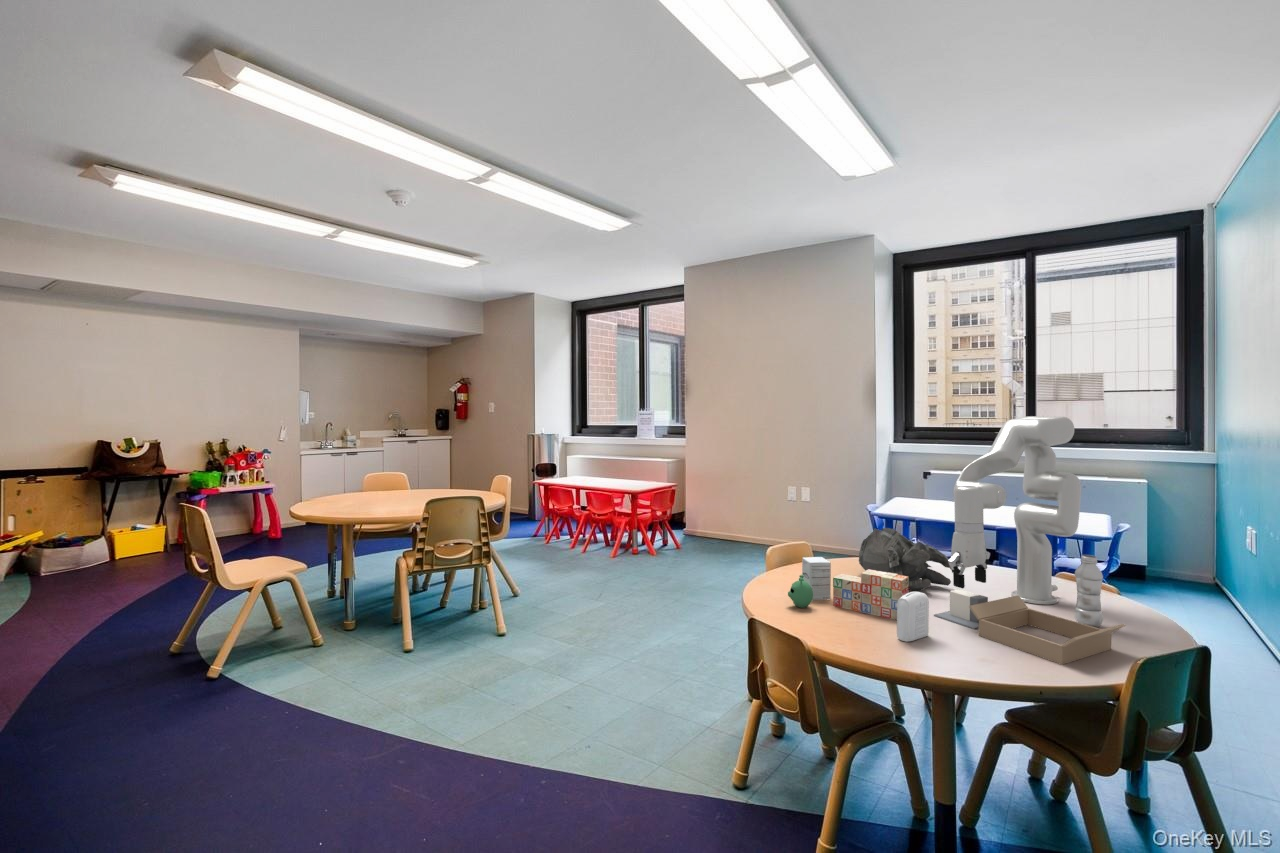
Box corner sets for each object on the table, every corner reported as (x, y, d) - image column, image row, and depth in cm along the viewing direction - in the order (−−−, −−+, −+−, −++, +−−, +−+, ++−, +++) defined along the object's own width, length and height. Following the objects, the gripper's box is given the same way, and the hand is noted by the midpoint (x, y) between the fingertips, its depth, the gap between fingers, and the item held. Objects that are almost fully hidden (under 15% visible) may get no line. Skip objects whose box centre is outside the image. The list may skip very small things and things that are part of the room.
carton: (1016, 620, 180) (1016, 594, 179) (1124, 653, 155) (1125, 623, 155) (968, 632, 170) (968, 605, 170) (1075, 669, 145) (1075, 637, 145)
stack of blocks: (832, 606, 194) (832, 567, 193) (840, 601, 198) (840, 564, 198) (901, 621, 179) (901, 579, 179) (908, 616, 184) (909, 575, 184)
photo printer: (916, 631, 171) (916, 587, 171) (931, 636, 167) (931, 591, 167) (894, 638, 165) (894, 593, 165) (908, 643, 162) (909, 597, 161)
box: (959, 612, 186) (959, 589, 186) (987, 620, 178) (987, 597, 178) (949, 614, 184) (949, 591, 184) (977, 623, 176) (977, 599, 176)
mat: (962, 609, 190) (962, 608, 190) (1003, 622, 178) (1003, 620, 178) (933, 615, 184) (933, 614, 184) (973, 629, 172) (973, 628, 172)
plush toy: (958, 594, 206) (959, 536, 206) (881, 593, 206) (882, 536, 206) (922, 572, 233) (922, 521, 233) (854, 572, 234) (854, 521, 233)
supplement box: (801, 594, 206) (801, 557, 206) (822, 593, 207) (822, 556, 207) (809, 600, 199) (809, 562, 199) (831, 600, 200) (831, 561, 199)
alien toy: (788, 602, 197) (788, 572, 197) (813, 604, 195) (813, 573, 194) (787, 609, 190) (787, 577, 190) (812, 611, 188) (812, 579, 188)
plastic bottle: (1095, 630, 171) (1096, 560, 170) (1069, 623, 177) (1070, 555, 176) (1107, 627, 174) (1108, 557, 173) (1081, 619, 180) (1082, 552, 179)
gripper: (976, 521, 187) (977, 576, 188) (938, 528, 180) (939, 586, 181) (999, 526, 181) (1000, 582, 181) (961, 533, 173) (962, 592, 174)
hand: (969, 584), depth 181 cm, fingers open, 9 cm apart
